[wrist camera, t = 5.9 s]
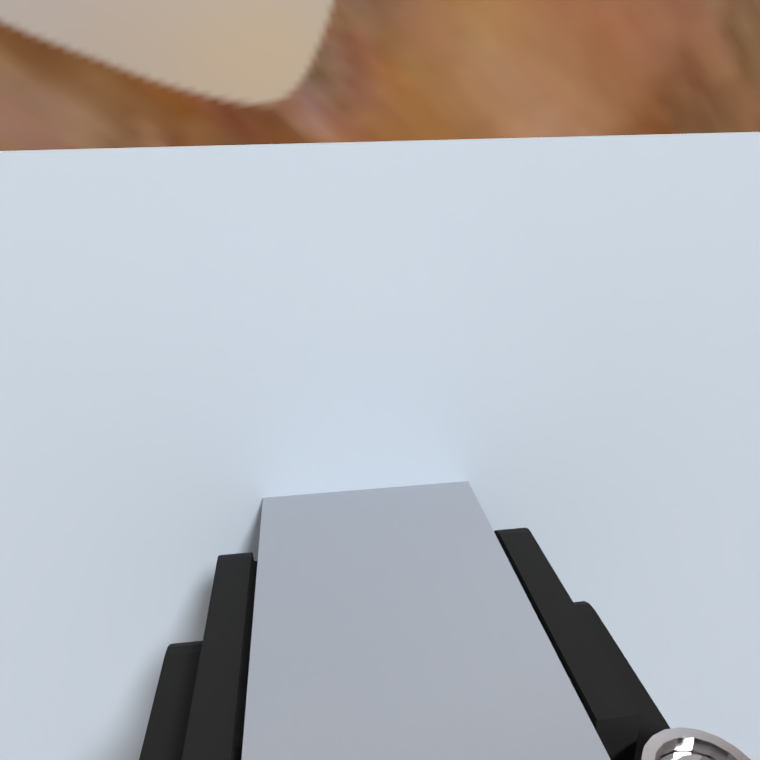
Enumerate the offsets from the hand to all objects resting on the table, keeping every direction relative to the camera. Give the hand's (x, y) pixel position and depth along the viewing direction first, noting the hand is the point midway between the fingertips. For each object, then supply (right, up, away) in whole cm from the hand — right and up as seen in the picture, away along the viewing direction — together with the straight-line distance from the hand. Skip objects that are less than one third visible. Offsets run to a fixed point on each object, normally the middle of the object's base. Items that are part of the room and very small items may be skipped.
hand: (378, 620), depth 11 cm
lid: (0, +1, +2) cm, 2 cm away
